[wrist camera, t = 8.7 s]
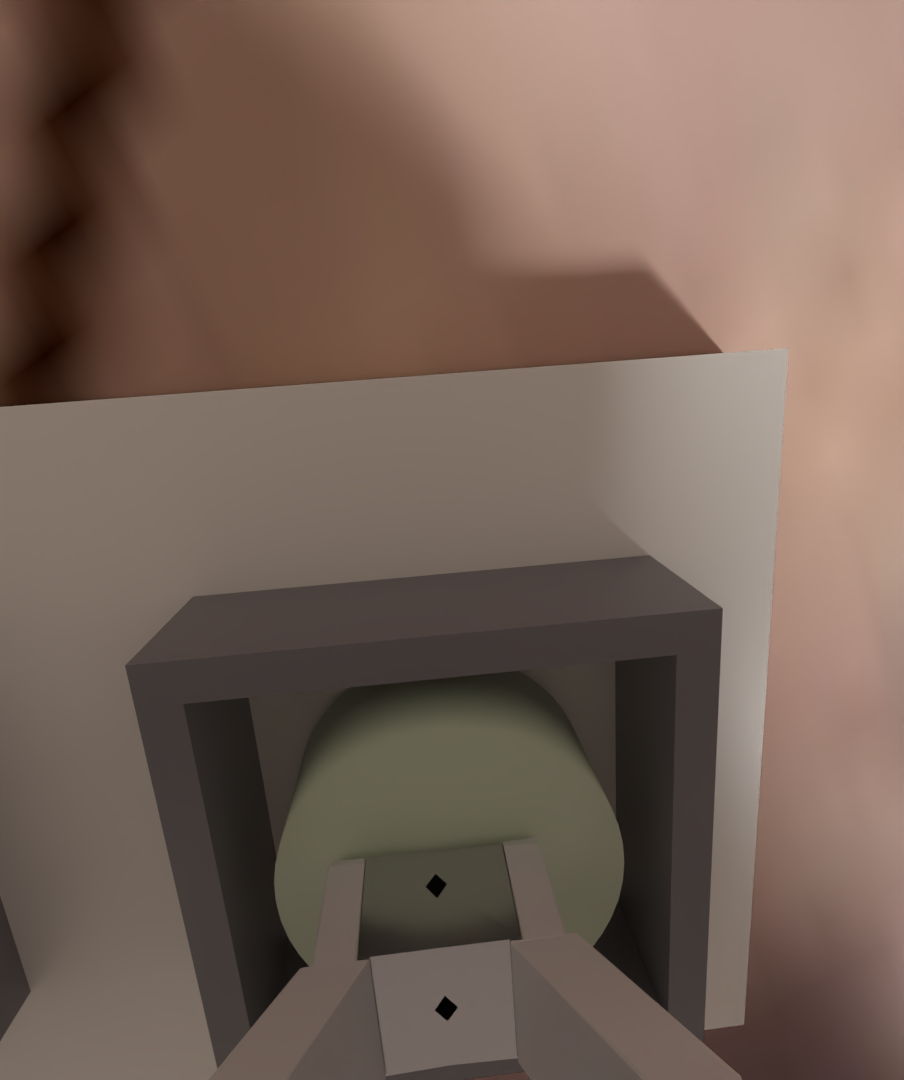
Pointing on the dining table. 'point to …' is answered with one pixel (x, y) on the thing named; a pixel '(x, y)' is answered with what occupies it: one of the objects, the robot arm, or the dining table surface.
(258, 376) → the dining table surface
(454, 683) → the sage button
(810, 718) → the dining table surface
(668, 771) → the console
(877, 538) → the dining table surface
